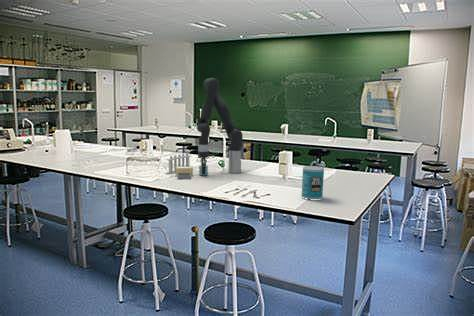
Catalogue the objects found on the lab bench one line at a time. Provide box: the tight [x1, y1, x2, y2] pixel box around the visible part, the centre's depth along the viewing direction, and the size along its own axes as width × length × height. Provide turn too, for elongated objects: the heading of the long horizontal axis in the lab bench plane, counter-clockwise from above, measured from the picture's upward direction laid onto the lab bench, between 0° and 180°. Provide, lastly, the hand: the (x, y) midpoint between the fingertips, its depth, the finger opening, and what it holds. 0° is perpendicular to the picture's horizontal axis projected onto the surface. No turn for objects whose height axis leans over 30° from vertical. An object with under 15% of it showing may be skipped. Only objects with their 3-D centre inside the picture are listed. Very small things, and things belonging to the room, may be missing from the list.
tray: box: [177, 173, 192, 180], centre depth 263 cm, size 9×9×2 cm
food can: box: [301, 165, 325, 200], centre depth 216 cm, size 12×12×18 cm
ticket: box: [175, 166, 194, 177], centre depth 270 cm, size 12×5×6 cm, turn 99°
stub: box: [198, 165, 209, 176], centre depth 272 cm, size 6×5×6 cm
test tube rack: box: [165, 152, 192, 175], centre depth 283 cm, size 25×4×13 cm, turn 147°
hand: (203, 173), depth 272 cm, fingers closed on stub, 5 cm apart
